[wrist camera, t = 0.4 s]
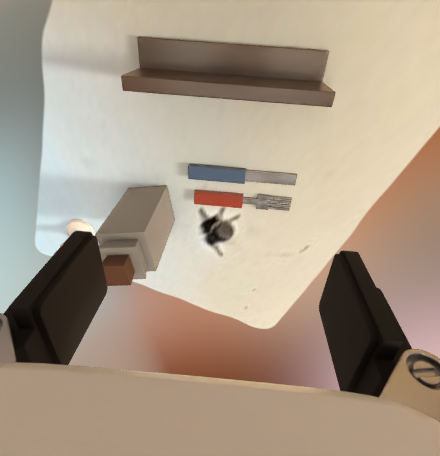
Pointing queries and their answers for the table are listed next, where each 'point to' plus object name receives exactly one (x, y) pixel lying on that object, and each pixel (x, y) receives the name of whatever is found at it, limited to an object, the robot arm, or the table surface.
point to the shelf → (230, 72)
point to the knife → (238, 175)
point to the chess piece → (78, 227)
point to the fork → (238, 200)
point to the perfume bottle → (135, 234)
